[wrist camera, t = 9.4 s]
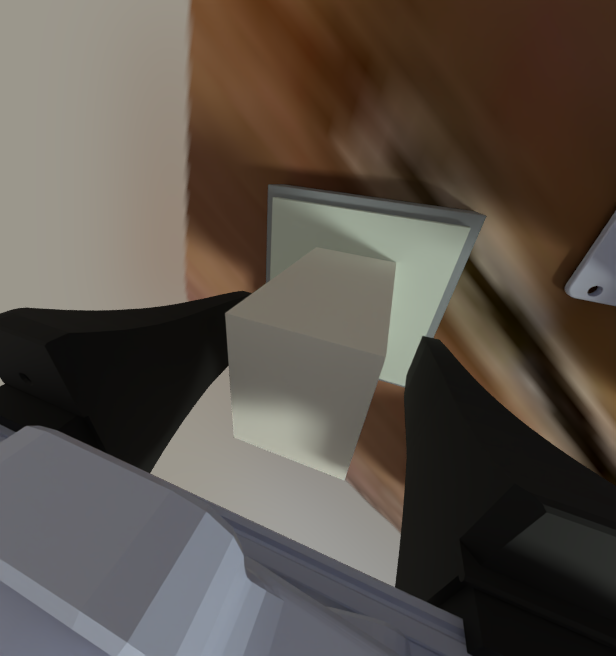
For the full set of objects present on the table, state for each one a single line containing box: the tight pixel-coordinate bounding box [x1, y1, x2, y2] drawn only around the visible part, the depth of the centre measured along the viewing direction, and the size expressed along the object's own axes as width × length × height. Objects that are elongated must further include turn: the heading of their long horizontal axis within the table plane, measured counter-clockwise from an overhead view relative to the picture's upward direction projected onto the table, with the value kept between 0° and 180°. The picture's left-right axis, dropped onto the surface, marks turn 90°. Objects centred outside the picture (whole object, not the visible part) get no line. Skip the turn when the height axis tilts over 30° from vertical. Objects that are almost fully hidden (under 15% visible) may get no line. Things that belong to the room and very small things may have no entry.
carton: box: [225, 247, 396, 480], centre depth 11 cm, size 4×5×8 cm
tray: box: [266, 184, 486, 387], centre depth 15 cm, size 10×10×2 cm
